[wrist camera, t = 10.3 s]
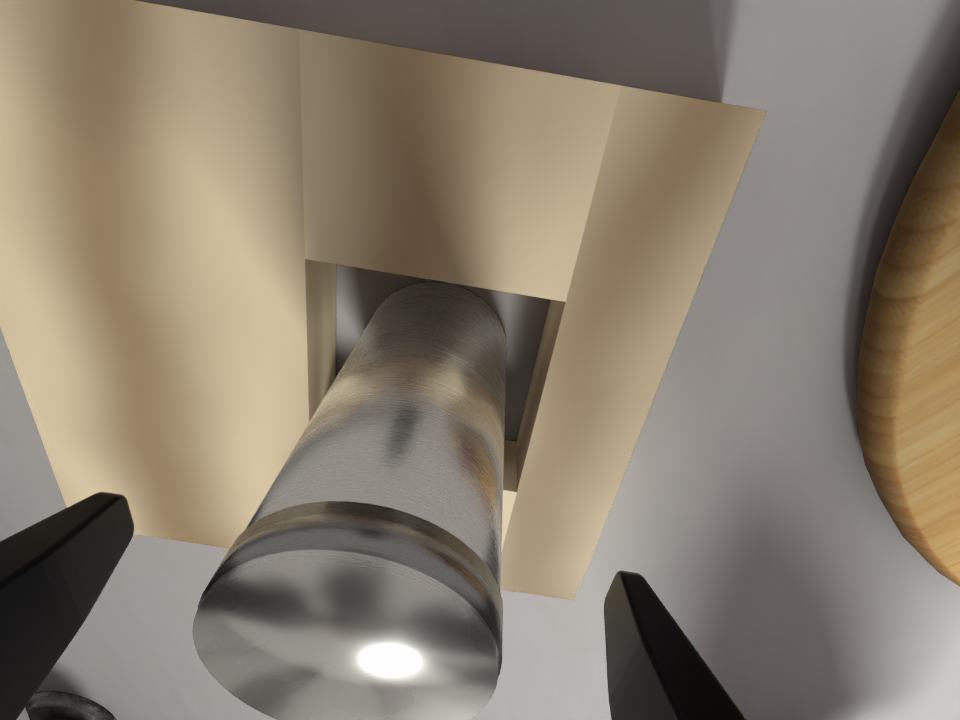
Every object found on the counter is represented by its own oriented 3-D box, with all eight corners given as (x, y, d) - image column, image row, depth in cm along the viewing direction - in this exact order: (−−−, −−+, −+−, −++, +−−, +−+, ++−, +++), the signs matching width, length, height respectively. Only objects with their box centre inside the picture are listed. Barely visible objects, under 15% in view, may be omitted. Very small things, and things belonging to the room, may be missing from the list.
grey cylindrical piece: (520, 293, 15) (530, 590, 6) (495, 416, 17) (476, 758, 9) (369, 268, 15) (165, 534, 6) (363, 395, 17) (209, 719, 8)
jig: (721, 105, 12) (766, 111, 10) (567, 544, 20) (574, 600, 18) (-17, -24, 12) (-138, -48, 10) (121, 475, 20) (73, 524, 18)
